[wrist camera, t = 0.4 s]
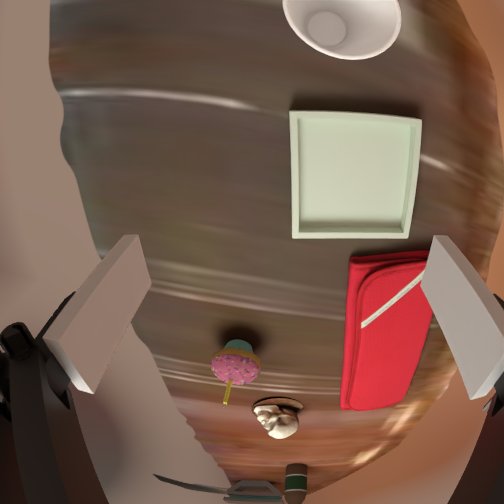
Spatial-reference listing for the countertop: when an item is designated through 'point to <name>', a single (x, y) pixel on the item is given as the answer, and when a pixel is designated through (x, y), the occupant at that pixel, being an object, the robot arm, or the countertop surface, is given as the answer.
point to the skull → (278, 416)
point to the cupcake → (235, 364)
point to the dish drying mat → (383, 328)
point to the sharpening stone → (253, 493)
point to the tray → (353, 173)
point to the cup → (345, 25)
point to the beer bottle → (295, 483)
